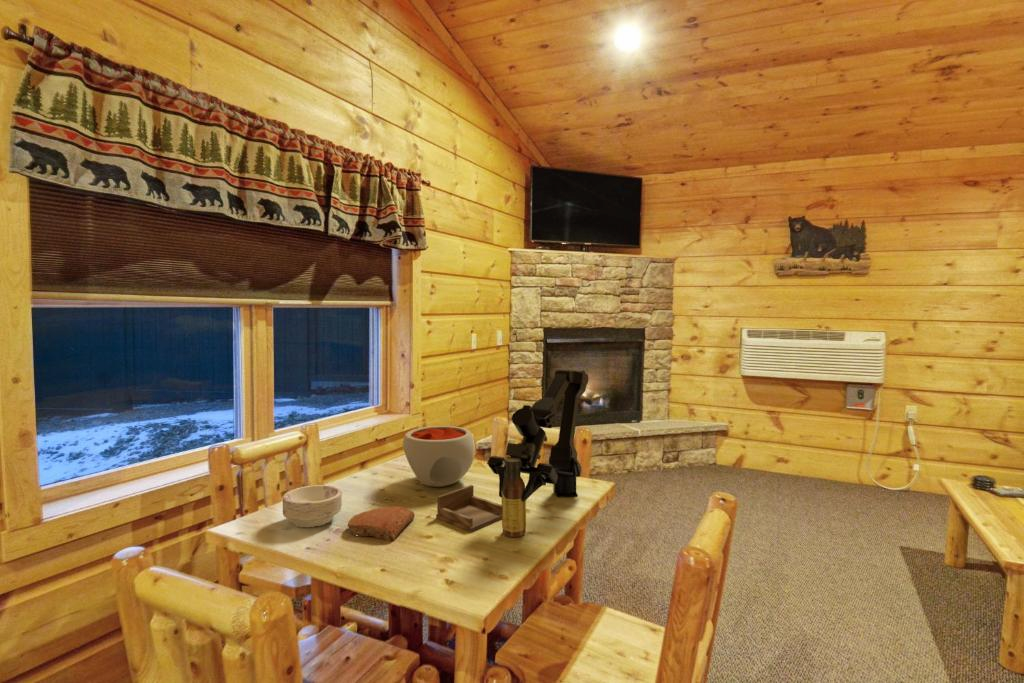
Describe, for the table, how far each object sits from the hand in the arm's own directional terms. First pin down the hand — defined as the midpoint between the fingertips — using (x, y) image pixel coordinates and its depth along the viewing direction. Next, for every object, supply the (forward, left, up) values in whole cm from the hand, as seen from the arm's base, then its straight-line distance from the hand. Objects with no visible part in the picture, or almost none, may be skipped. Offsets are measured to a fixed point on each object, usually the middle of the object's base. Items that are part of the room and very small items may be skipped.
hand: (511, 498), depth 138 cm
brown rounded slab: (+34, -8, -10) cm, 37 cm away
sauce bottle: (-1, -1, -10) cm, 10 cm away
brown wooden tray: (+10, -13, -10) cm, 19 cm away
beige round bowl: (+53, -14, -10) cm, 56 cm away
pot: (+20, -43, -10) cm, 49 cm away
